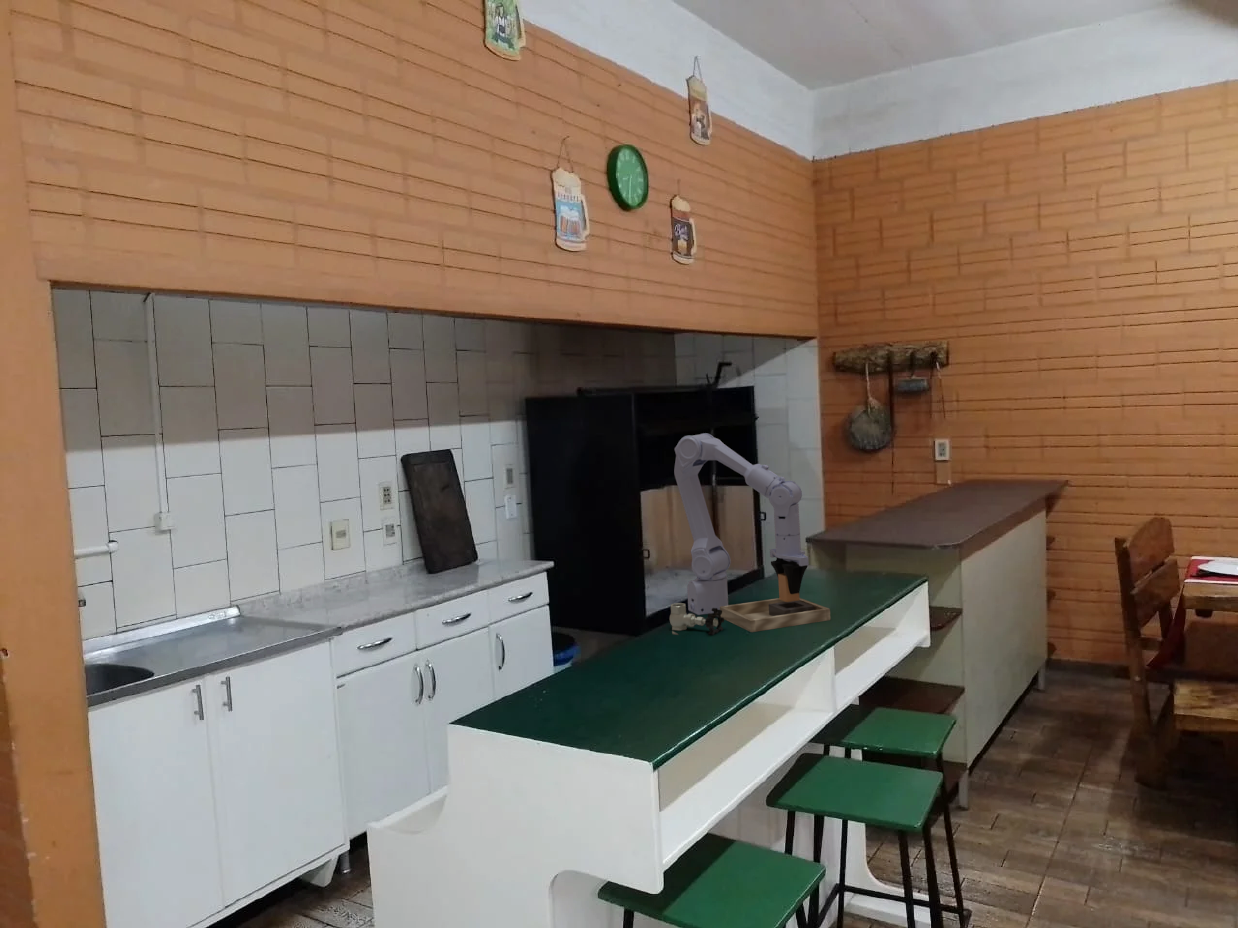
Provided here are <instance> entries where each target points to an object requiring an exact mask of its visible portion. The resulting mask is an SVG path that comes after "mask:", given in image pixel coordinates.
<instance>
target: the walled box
mask: <svg viewBox="0 0 1238 928" xmlns="http://www.w3.org/2000/svg"><path fill="white" fill-rule="evenodd" d="M799 598H800V600H798V601H791V602H785V601H782V600H780V599H779V598H778V597H777V598H776V597H775V598H770V599H764V600H758V601H750V602H743V603H736V604H735V603H734V604H728V606H721V607H720V610H722V614H721V617H723V618H724V621H727V622H730V623H732V624H733V625H736V626H737V627H740V628H742V629H743V630H746V631H748V632H750V633H755V632H761V631H768V630H774V629H781V628H789V627H793V626H794V627H795V626H799V625H800V626H801V625H805V624H806V625H807V624H813V623H819V622H825V621H831V609H830V608H829V607H826V606H823V605H820V604H818V603H815V602H812V601H809V600H807V599H804V598H801V597H799Z"/></svg>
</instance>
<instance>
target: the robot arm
mask: <svg viewBox="0 0 1238 928" xmlns="http://www.w3.org/2000/svg"><path fill="white" fill-rule="evenodd" d="M674 452H675V463H674V469H673V470H674V472H673V473H674V479H675V481H676V484H677V488H678V491H679V495H680V498H681V502H682V505H683V509H684V512H685V515H686V519H687V522H688V526H689V529H690V533H691V536H692V539H693V543H692V547H691V549H690V554H691V570H692V572H693V574H694V576H696V579H693V580H690V581H688V583H687V593H686V594H687V608H688V611H689V612H692V614H694V615H697V616H700V615H708V614H709V613H711V614H713V613H714V612H713V611H712V608H717V609H718V610H720V607H721V606H728V605H729V597H728V596H729V595H728V577H727V575H728V574H727V570H729V568H730V566H731V562H732V561H731V556H730V554H729V552H728V551H727V549H726V548H725V547H724V544H723V542H722V540H721V539H719V537H718V536H717V535H716V533H715V530H714V526H713V523H712V520H711V516H710V513H709V510H708V509H709V508H708V507H707V503H706V499H705V496H704V493H703V489H702V486H701V482H700V479H699V473H700V471H701V469H702V467H704V464H706V463H707V462H708V461H718V463H721V464H723V465H724V466H726V467H728V468H729V469H731V470H733V471H734V472H736V473H738V474H740V475H741V476H743V477H744V480H745V481H744V482H745V483H746V485H747V486H748V487H750V488H752V489H753V490H755V491H757V492H758V493H759V494H760V495H762V496H764V497H766V498H767V499H768V500H769V503H770V505H771V506H772V507H773V518H774V520H773V521H774V539H775V540H774V541H775V548H770V549H769V557H770V558H776V559H775V560H771V561H770V565H771V567H772V568H773V570H774V573H775V574H776V576H777V578H778V574H783V573H784V570H785V573H786V576H787V580H788V587H789V591H790V594H797V593H799V594H800V591H801V586H802V580H803V577H804V575H805V572H806V571H807V568H808V566H809V556H807V555H806V551H804V550H801V549H802V548H801V529H800V528H801V526H800V523H801V522H800V510H799V508H800V507H799V503H800V501H801V500H802V496H803V495H802V489H801V487H800V486H799V484H798V483H796V482H795V481H794V480H786V477H784V476H783V475H782V476H779V475H778V474H776V473H775V472H773V471H772V470H770V469H769V468H770V467H769V465H767V464H762V463H756V464H752V463H750V462H749V461H748V460H746V459H745V457H743V456H741V455H740V454H739V453H737V452H736V451H735V450H733V449H731V448H730V447H729V446H727V445H726V444H724V442H722V441H721V439H719V438H716V437H714V436H713V435H712V434H710V433H706V432H705V433H704V432H703V433H700V434H695V435H693V434H692V435H684V436H683V437H681V439H680V440H678V443H677V445H676V446H675V447H674ZM717 613H718V612H717Z"/></svg>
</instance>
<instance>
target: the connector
mask: <svg viewBox="0 0 1238 928" xmlns="http://www.w3.org/2000/svg"><path fill="white" fill-rule="evenodd" d="M777 580H778V595H779V596H778V597H779V599H780V600H782V601H785V602H791V601H798V600H800V598H801V597H800V592H799V593H797V594H790V591H789V587H788V580H787V576H786V573H785V570H784V573H783V574H778V577H777Z"/></svg>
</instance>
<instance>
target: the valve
mask: <svg viewBox="0 0 1238 928" xmlns="http://www.w3.org/2000/svg"><path fill="white" fill-rule="evenodd" d="M686 607H687V606H686V603H682V602H675V603H671V604H670V615H669V622H670V625H671V630H672V631H671V633H672V635H676V636H680V634H679V633H677V632H675V631H678V632H680V631H684V630H688V629H687V628H694V627H695V625H698V626H701V627H702V626H704V625H705V627H706V629H708V636H714V635H715V634H718V633H719V632H721V631H724V629H723V628H724V627H723V626H722V623H724V622H725V619H724V618H723V617H721V614H722V610H718V609H717V608H712V611H713V612H714V613H708V614H707V617H706V618H705V617H703V616H696V614H695V613H688V614H687V608H686ZM717 612H718V613H717ZM715 627H716V628H715Z"/></svg>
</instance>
